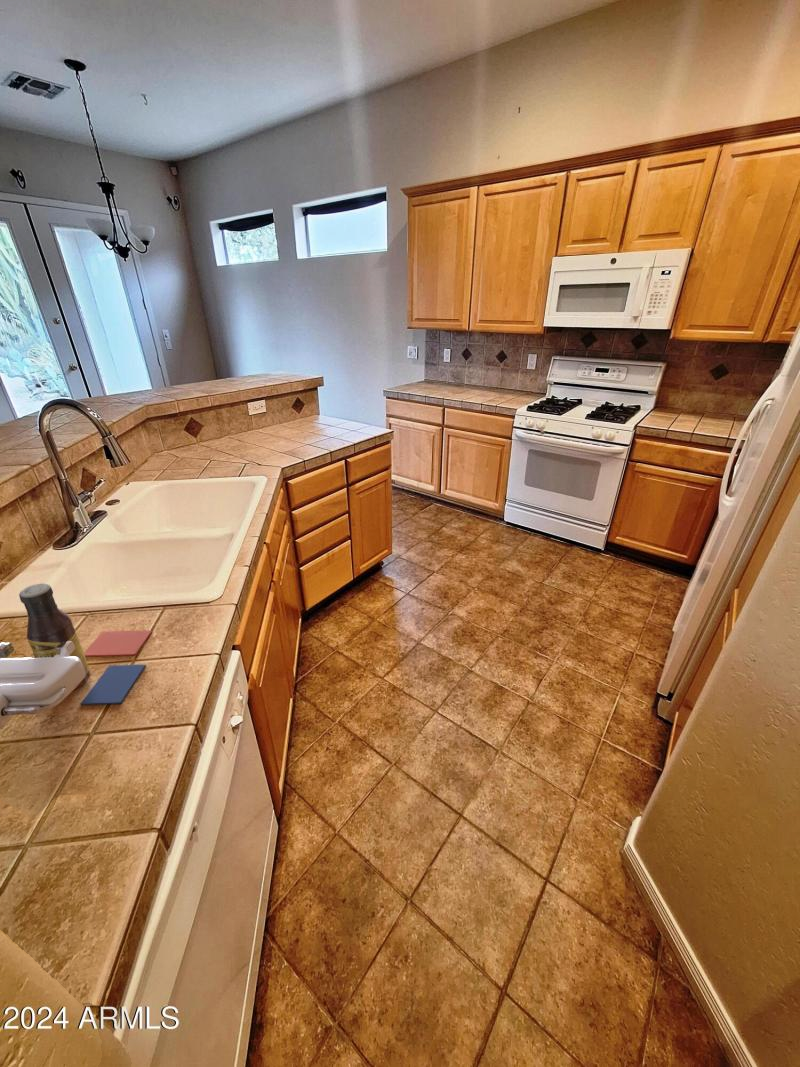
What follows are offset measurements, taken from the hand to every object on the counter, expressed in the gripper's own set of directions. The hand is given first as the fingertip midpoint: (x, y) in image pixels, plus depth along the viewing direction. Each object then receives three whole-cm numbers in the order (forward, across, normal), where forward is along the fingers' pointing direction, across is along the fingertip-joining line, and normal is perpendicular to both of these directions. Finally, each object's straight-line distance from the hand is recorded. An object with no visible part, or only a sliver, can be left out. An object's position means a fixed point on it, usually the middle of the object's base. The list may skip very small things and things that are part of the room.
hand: (39, 645), depth 69 cm
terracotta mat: (+13, -3, +11) cm, 17 cm away
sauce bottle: (+3, 0, +11) cm, 11 cm away
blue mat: (+2, -8, +11) cm, 14 cm away
